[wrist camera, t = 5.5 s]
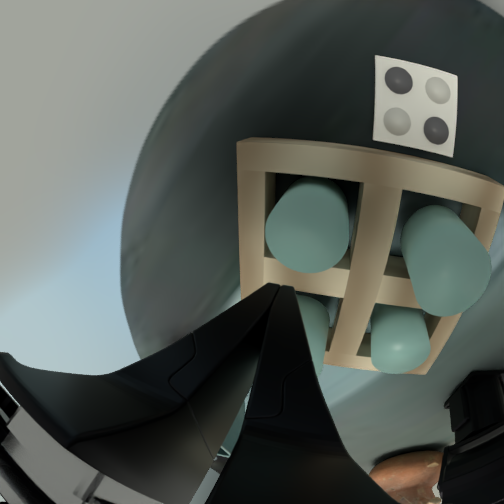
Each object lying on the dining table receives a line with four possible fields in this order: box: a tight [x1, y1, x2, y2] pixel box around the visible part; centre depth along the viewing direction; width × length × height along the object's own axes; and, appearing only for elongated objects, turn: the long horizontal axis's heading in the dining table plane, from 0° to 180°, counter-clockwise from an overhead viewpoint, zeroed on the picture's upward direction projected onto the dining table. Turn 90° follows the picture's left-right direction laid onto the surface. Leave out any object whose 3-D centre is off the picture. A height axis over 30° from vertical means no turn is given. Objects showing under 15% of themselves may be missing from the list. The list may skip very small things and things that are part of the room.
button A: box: [370, 303, 431, 374], centre depth 16 cm, size 4×4×4 cm
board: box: [237, 137, 504, 375], centre depth 16 cm, size 15×15×2 cm
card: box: [373, 55, 457, 158], centre depth 11 cm, size 5×5×1 cm
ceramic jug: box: [369, 451, 444, 504], centre depth 24 cm, size 18×14×14 cm
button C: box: [296, 295, 330, 377], centre depth 16 cm, size 4×4×4 cm
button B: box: [400, 205, 492, 317], centre depth 11 cm, size 4×4×4 cm
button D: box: [265, 176, 349, 273], centre depth 14 cm, size 4×4×4 cm
